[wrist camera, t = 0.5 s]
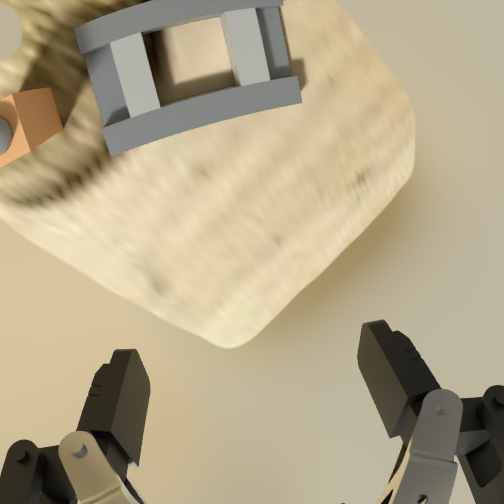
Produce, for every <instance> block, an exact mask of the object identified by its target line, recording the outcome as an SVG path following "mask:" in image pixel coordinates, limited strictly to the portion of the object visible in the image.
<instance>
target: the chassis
mask: <svg viewBox="0 0 504 504" xmlns="http://www.w3.org/2000/svg"><path fill="white" fill-rule="evenodd" d="M282 5H283V0H152V1H148V2H145V3H141V4H138V5H135V6H131V7H128V8H125V9H122V10H119V11H116V12H113V13H111V14H108V15H105V16H102V17H100V18H97V19H95V20H92V21H89V22H87V23H85V24H82V25H80V26H77V27H75V28H74V31H75V35H76V40H77V44H78V48H79V52H80V55H84V57H85V61H86V65H87V69H88V72H89V76H90V80H91V83H92V87H93V90H94V94H95V97H96V100H97V104H98V107H99V110H100V113H101V117H102V120H103V123H104V127H103V128H102V131H103V134H104V137H105V140H106V143H107V146H108V149H109V152H110V154H111V156H114V155H117V154H119V153H122V152H125V151H127V150H130V149H133V148H136V147H138V146H141V145H144V144H147V143H150V142H153V141H156V140H159V139H162V138H165V137H168V136H171V135H174V134H178V133H181V132H184V131H187V130H191V129H194V128H198V127H201V126H205V125H208V124H212V123H216V122H219V121H223V120H227V119H231V118H235V117H239V116H243V115H247V114H251V113H255V112H260V111H264V110H269V109H274V108H278V107H283V106H288V105H293V104H299V103H302V98H301V92H300V86H299V80H298V76H293V75H291V71H290V65H289V60H288V55H287V50H286V45H285V40H284V35H283V30H282V25H281V21H280V16H279V11H278V7H280V6H282ZM214 17H220V19H221V23H222V28H223V32H224V36H225V41H226V45H227V49H228V54H229V58H230V63H231V67H232V72H233V76H234V80H235V86H231V87H227V88H222V89H218V90H214V91H210V92H206V93H202V94H199V95H195V96H191V97H188V98H184V99H181V100H177V101H174V102H171V103H167V104H164V105H160V102H159V98H158V95H157V91H156V87H155V84H154V80H153V76H152V72H151V68H150V65H149V61H148V57H147V53H146V49H145V45H144V41H143V37H142V35H145V34H149V33H152V32H156V31H159V30H163V29H166V28H170V27H174V26H178V25H182V24H186V23H190V22H195V21H199V20H204V19H209V18H214Z"/></svg>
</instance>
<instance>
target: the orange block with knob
mask: <svg viewBox="0 0 504 504" xmlns="http://www.w3.org/2000/svg"><path fill="white" fill-rule="evenodd" d="M61 130H63V126H62V123H61V120H60V116H59V113H58V110H57V107H56V104H55V100H54V97H53V94H52V90H51V87H47V88H40V89H34V90H28V91H23V92H18V93H13V94H10V95H9V96H7V97H5V98H4V99H2V100H1V101H0V167H2V166H4V165H6V164H7V163H9V162H11V161H13V160H15V159H16V158H18V157H20V156H22V155H24V154H26V153H27V152H29V151H31V150H33V149H34V148H35V147H37V146H38V145H40V144H41V143H43V142H44V141H46V140H47V139H49V138H50V137H52V136H53V135H55V134H57V133H58V132H60V131H61Z"/></svg>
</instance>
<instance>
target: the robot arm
mask: <svg viewBox="0 0 504 504" xmlns="http://www.w3.org/2000/svg"><path fill="white" fill-rule="evenodd" d="M357 359H358V365H359V369H360V371H361V373H362V376H363V378H364V380H365V382H366V385H367V387H368V389H369V391H370V394H371V396H372V398H373V400H374V403H375V405H376V407H377V410H378V412H379V414H380V416H381V419H382V421H383V423H384V426H385V428H386V430H387V433H388V435H389V437H390V438H392V437H396V436H399V435H400V436H401V438H402V441H403V442H402V444H401V446H400V449H399V452H398V455H397V458H396V460H395V463H394V465H393V468H392V470H391V473H390V475H389V478H388V480H387V483H386V485H385V487H384V489H383V491H382V493H381V495H380V497H379V498H378V500H377V502H376V504H448V503H449V499H450V496H451V492H452V489H453V485H454V481H455V478H456V473H457V463H456V462H454V455H457V457H458V459H459V461H460V464H461V467H462V469H463V471H464V474H465V476H466V479H467V482H468V484H469V487H470V489H471V492H472V494H473V497H474V500H475V503H476V504H504V386H501V385H495V386H492V387H489V388H488V389H487V390H486V392H485V394H484V395H483V397H476V398H459V396H458V395H457V394H455V393H454V392H452V391H450V390H446V389H442V388H441V387H440V385H439V384H438V382H437V381H436V379H435V377H434V376H433V374H432V373H431V371H430V370H429V368H428V366H427V365H426V363H425V362H424V360H423V359H421V356H420V354H419V353H418V351H417V350H416V348H415V346H414V345H413V343H412V342H411V340H410V339H409V338H408V337H407V336H405V335H404V334H402V333H401V332H400V331H394V332H392V330H391V329H390V327H389V326H388V324H387V323H386V321H385V320H377V321H372V322H367V323H364V324H363V325H362V329H361V336H360V342H359V348H358V355H357ZM91 386H92V387H90V390H89V393H88V397H87V399H86V402H85V405H84V408H83V411H82V414H81V417H80V420H79V424H78V427H77V430H76V431H75V432H72V433H70V434H68V435H67V436H65V437H64V438H63V440H62V441H61V443H60V445H56V446H50V447H44V448H38V447H37V446H36V445H35V444H34V443H33V442H32V441H29V440H19V441H17V442H15V443H14V444H13V445H12V446H11V447H10V448H9V450H8V452H7V455H6V459H5V462H4V465H3V469H2V472H1V476H0V504H77V501H78V499H79V500H80V502H81V504H146V502H145V501H144V500H143V498H142V497H141V495H140V494H139V492H138V491H137V490H136V488H135V487H134V485H133V484H132V482H131V481H130V479H129V478H128V477H127V468H128V466H129V467H139V459H140V452H141V445H142V439H143V432H144V426H145V420H146V414H147V408H148V403H149V397H150V381H149V378H148V375H147V373H146V371H145V368H144V366H143V363H142V361H141V359H140V356H139V354H138V352H137V350H136V349H117V350H115V351H114V352H113V355H112V358H111V361H110V364H103V365H102V366H101V368H100V369H99V370H98V371H97V372H96V373H95V376H94V379H93V381H92V384H91ZM343 504H344V503H343Z"/></svg>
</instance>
